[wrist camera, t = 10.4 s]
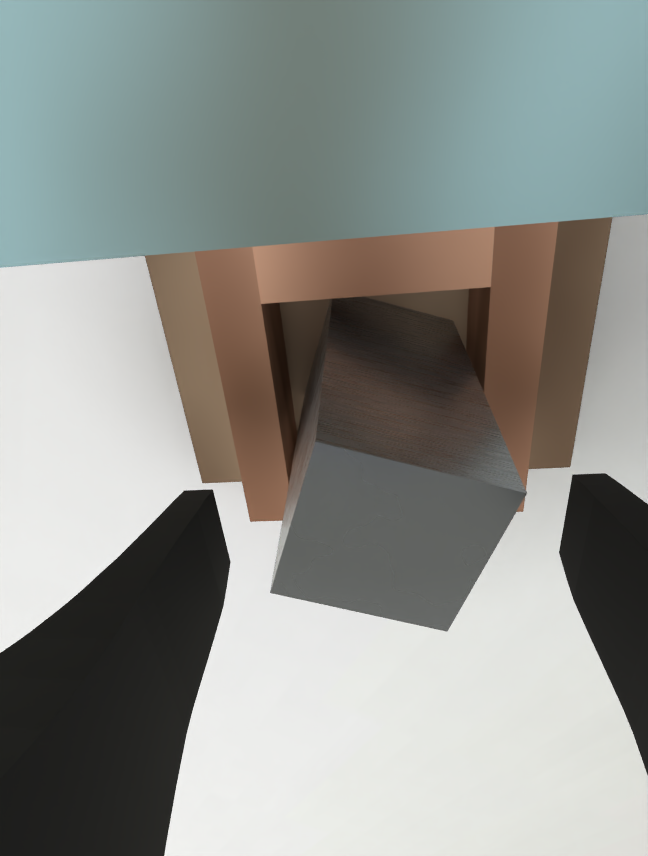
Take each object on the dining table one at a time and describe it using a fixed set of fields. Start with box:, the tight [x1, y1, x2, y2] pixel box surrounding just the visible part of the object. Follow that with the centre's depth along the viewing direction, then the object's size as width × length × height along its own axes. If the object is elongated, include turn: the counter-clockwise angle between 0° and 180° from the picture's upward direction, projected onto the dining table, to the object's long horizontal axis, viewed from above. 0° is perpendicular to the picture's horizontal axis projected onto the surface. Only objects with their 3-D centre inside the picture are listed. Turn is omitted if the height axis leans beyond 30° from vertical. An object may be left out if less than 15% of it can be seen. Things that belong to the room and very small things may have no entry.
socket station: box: [0, 0, 648, 522], centre depth 13 cm, size 14×16×11 cm
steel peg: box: [270, 296, 527, 631], centre depth 15 cm, size 4×4×9 cm
